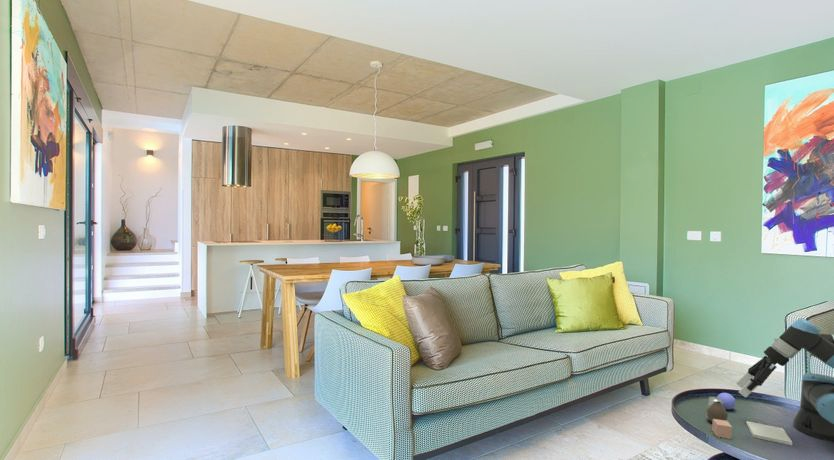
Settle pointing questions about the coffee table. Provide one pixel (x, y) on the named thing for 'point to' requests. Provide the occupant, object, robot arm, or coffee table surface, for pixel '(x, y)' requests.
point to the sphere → (727, 400)
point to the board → (768, 433)
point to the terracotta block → (722, 428)
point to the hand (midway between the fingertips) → (740, 390)
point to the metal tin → (713, 399)
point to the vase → (716, 411)
